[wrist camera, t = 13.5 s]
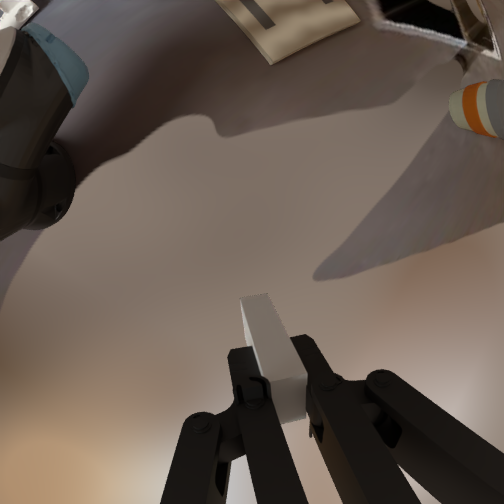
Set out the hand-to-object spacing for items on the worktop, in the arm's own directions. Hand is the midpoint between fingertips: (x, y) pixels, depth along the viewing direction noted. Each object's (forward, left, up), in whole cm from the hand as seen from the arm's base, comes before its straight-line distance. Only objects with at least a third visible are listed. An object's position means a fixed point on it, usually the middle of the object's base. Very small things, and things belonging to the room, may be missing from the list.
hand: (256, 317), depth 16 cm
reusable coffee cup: (+55, +18, -33) cm, 66 cm away
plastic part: (-35, +47, -33) cm, 67 cm away
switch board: (+13, +39, -32) cm, 52 cm away
